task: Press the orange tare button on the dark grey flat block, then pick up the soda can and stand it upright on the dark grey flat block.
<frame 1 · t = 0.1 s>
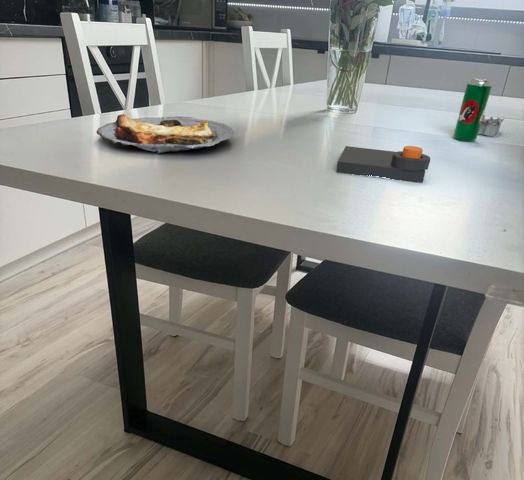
tare button: (412, 153, 77), point 4 cm above the table, slide at 0.1 cm
egg carton: (482, 132, 118), on the table
soda can: (463, 140, 109), on the table
dark grey flat block: (380, 169, 83), on the table
food plate: (167, 143, 91), on the table
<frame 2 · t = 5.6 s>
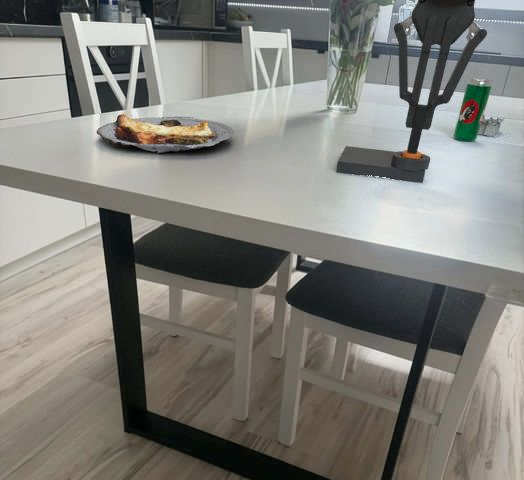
hand: (412, 150, 77), 4 cm above the table, tool pointing down, fingers closed
tare button: (411, 157, 78), point 3 cm above the table, slide at -0.5 cm, touching gripper
everything else where it was.
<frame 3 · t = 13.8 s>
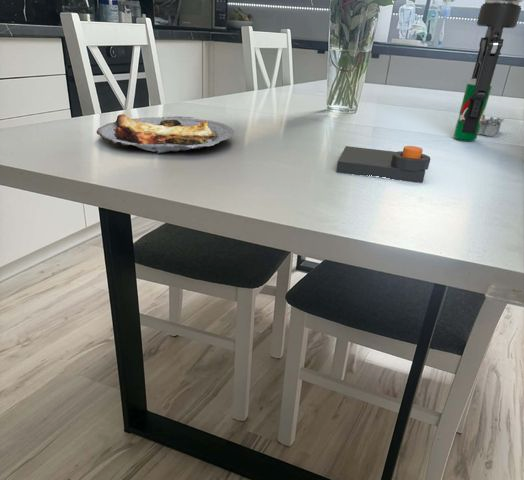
hand: (466, 130, 108), 2 cm above the table, tool pointing down, fingers closed on soda can, 5 cm apart
tare button: (412, 153, 77), point 4 cm above the table, slide at 0.1 cm
soda can: (464, 140, 109), on the table, touching gripper
everything else where it was.
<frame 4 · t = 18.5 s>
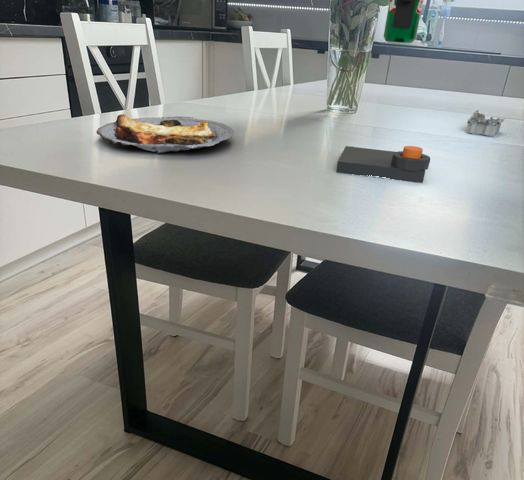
hand: (401, 27, 76), 20 cm above the table, tool pointing down, fingers closed on soda can, 5 cm apart
soda can: (398, 43, 77), point 18 cm above the table, touching gripper
everything else where it was.
when the fingers open (4 cm above the table, at t = 23.4 s): soda can stays where it is, resting on dark grey flat block.
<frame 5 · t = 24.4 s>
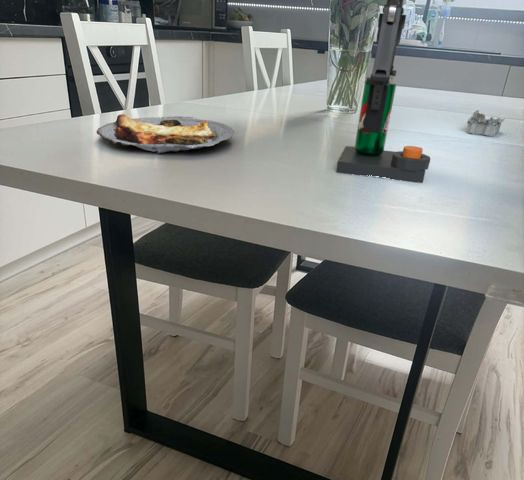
hand: (374, 125, 82), 7 cm above the table, tool pointing down, fingers open, 13 cm apart
soda can: (368, 154, 84), point 2 cm above the table, touching dark grey flat block
everything else where it was.
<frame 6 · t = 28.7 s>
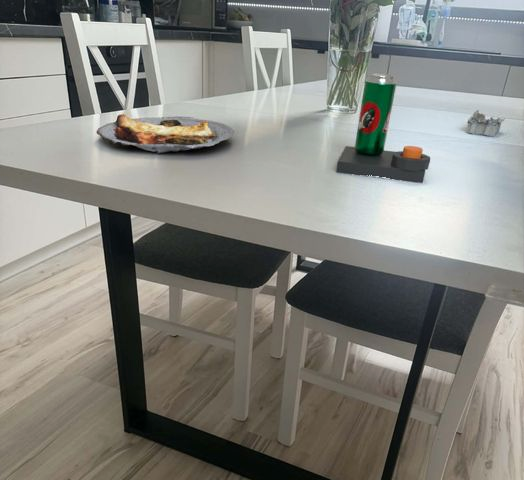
nothing on the table moved.
at the end: tare button pushed in 0.7 cm at the most during the clip, back to where it started at the end; soda can inside the target area on the dark grey flat block (1.0 cm from its centre), point 1.7 cm above the dark grey flat block's base; soda can tilted 0° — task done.
